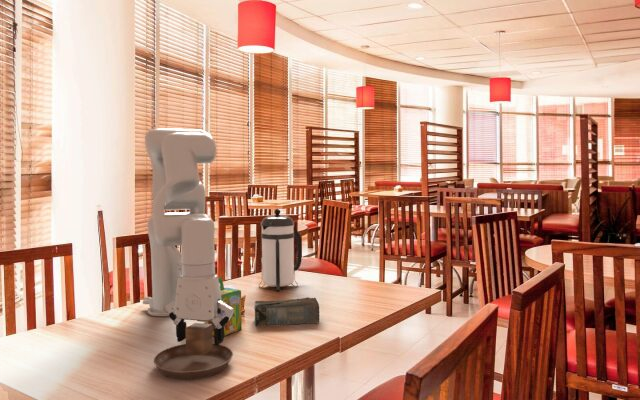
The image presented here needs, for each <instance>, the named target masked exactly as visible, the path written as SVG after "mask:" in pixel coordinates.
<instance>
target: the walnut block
mask: <svg viewBox="0 0 640 400" xmlns="http://www.w3.org/2000/svg"><path fill="white" fill-rule="evenodd" d="M185 329H186V354H193V355H203V356H204V355H205V354H206V353H208V352H209V351H210V350H212V349H213V343H214V341H213V339H214V337H213V336H212V324H204V323H194V324H192V325H191V326H189V327H187V328H185Z"/></svg>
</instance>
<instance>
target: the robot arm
mask: <svg viewBox="0 0 640 400" xmlns="http://www.w3.org/2000/svg"><path fill="white" fill-rule="evenodd" d="M144 136H145V137H144V144H145V150H146V152H147V154H148V157H149V160H150V163H151V166H152V167H151V168H152V209H151V210H152V211H151V212H152V215H151V216H150V217H149V219H148V220H147V225H146V226H147V235H148V239H149V246H150V256H151V257H150V258H151V259H150V260H151V291H152V295H151V296H152V297H151V296H144V298H143V300H142V304H143V305H149V307H148V308H147V314H148V315H150V316H153V317H169V318H170V319H171V320H172V321H173V325H174V326H175V336H176V341H177V343H181V341H182V340H184V339H186V329H185V328H186V322H187V321H185V320H188V321H212V322H213V323H214V325H215V326H216V328H215V329H214V336H213V339H214V341H213V343H214V344H215V345H216V346H218V345H219V344H220V345H222V343H223V342H224V340H225V336H224V326H225V325H226V323H227V322H228V321H229V320H230V319H231V317H232V315H233V313H234V309H233V308H232V307H230V306H229V305H227V304H226V303H224V302H222V300H221V290H220V283H219V280H218V278H219V276H218V275H217V274H216V259H215V258H216V256H215V255H216V254H215V252H216V251H215V250H216V249H215V228H216V227H215V221H214V220H213V219H212V217H211V216H210V215H209V214H206V189H205V186H204V184H203V182H201V179H200V172H199V168H198V164H212V163H213V162H214V161H215V160H216V157H217V145H216V141H215V139H214V137H213V136H212V135H211V133H209V132H207V131H205V130H203V129H194V128H192V129H191V128H189V129H188V128H153V129H150V130H147V132H146V134H145V135H144ZM184 210H185V211H184ZM187 210H189V211H187ZM165 211H171V212H165ZM172 211H174V212H172ZM175 211H177V212H175ZM179 211H181V212H179ZM182 211H183V212H182ZM177 246H181V250H179V249H178V248H177ZM222 310H223V311H225V312H226V315H225V317H224V318H223V317H222V316H221V313H222Z"/></svg>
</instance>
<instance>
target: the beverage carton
mask: <svg viewBox="0 0 640 400" xmlns="http://www.w3.org/2000/svg"><path fill="white" fill-rule="evenodd" d="M253 309H254V324H255V327H256V328H257V327H274V326H290V325H291V326H292V325H307V324H309V325H310V324H320V304H319V302H318V300H317V298H316V297H303V298H302V297H301V298H292V299H291V298H289V299H273V300H255V301H254V308H253Z"/></svg>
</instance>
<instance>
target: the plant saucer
mask: <svg viewBox="0 0 640 400" xmlns="http://www.w3.org/2000/svg"><path fill="white" fill-rule="evenodd" d="M233 356H234V352H233V350H232V349H231V348H230V347H228V346H225V345H224V344H219V345H218V346H216V345H215V344H214V342H213V349H212V350H210V351H209V352H208V353H206V354H205V355H204V356H203V355H193V354H186V344H182V345H181V344H178V345H174V346H171V347H169V348H166V349H163V350H162V351H160V352H158V353H157V354H156V355H155V356H154V358H153V363H154V365H155V367H156V368H157V369H158V370H159V371H160V372H161V373H162V374H163V375H164V376H166V377H168V378H171V379H174V380H184V381H185V380H198V379H204V378H208V377H211V376H215V375H216V374H218V373H220V372H222V371H223V370H224V369H225V368H226V367H227V366H228V365H229V363H230V362H231V361H232V358H233Z"/></svg>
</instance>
